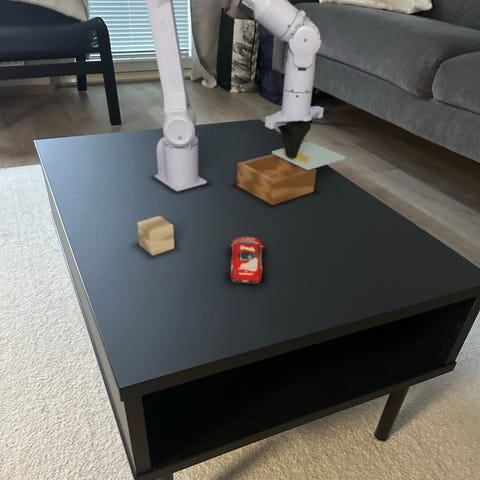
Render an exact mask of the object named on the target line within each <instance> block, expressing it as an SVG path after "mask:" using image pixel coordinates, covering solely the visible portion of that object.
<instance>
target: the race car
mask: <svg viewBox="0 0 480 480" xmlns="http://www.w3.org/2000/svg"><path fill="white" fill-rule="evenodd" d="M230 247H231V263H230V280H231V282H233V283H236V284H246V285H247V284H248V285H249V284H250V285H251V284H252V285H255V284H259V283H260V282H261V281H262V277H263V276H262V274H263V265H262V263H263V261H262V260H263V258H262V257H263V256H262V255H263V254H262V252H263V251H262V250H263V248H264V245H263V244H262V241H261V240H260V239H259V238H256V237H253V236H249V235H244V236H238V237H236V238H234V239H233V240H232V243H231V244H230Z"/></svg>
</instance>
